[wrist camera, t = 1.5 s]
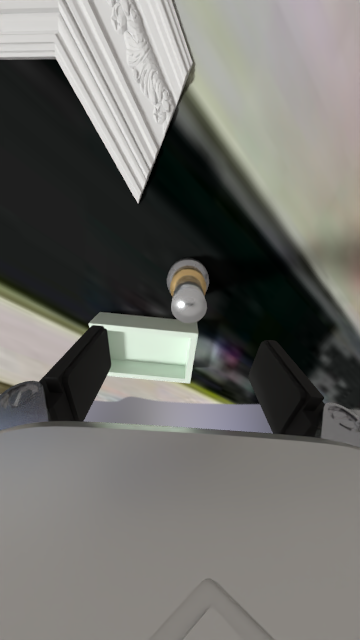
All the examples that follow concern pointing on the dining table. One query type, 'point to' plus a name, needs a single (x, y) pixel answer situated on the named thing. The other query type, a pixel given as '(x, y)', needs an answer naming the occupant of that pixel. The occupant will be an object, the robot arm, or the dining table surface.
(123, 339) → the bin
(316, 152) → the dining table surface
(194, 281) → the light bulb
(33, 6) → the crown molding
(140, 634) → the robot arm
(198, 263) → the silver metal dome
